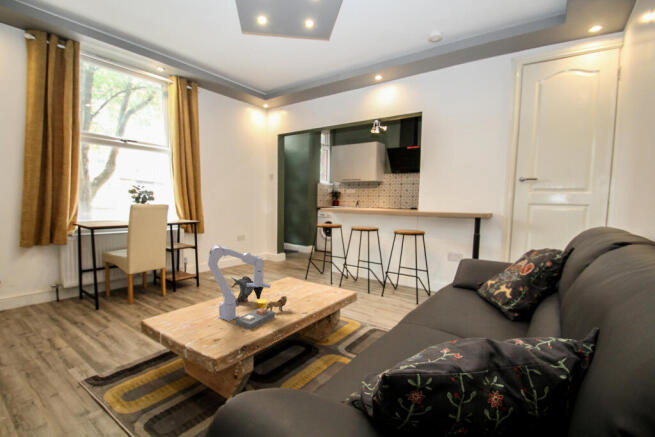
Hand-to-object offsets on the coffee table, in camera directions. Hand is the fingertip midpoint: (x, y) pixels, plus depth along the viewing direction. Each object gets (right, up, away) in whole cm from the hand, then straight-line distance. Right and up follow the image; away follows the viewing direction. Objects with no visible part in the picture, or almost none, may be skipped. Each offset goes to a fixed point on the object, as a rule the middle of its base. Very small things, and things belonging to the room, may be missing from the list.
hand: (258, 298), depth 187 cm
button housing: (0, -10, -10) cm, 14 cm away
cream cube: (-2, -11, -14) cm, 18 cm away
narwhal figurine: (-15, -8, +19) cm, 25 cm away
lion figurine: (+10, -10, +5) cm, 15 cm away
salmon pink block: (+3, -9, -6) cm, 11 cm away
